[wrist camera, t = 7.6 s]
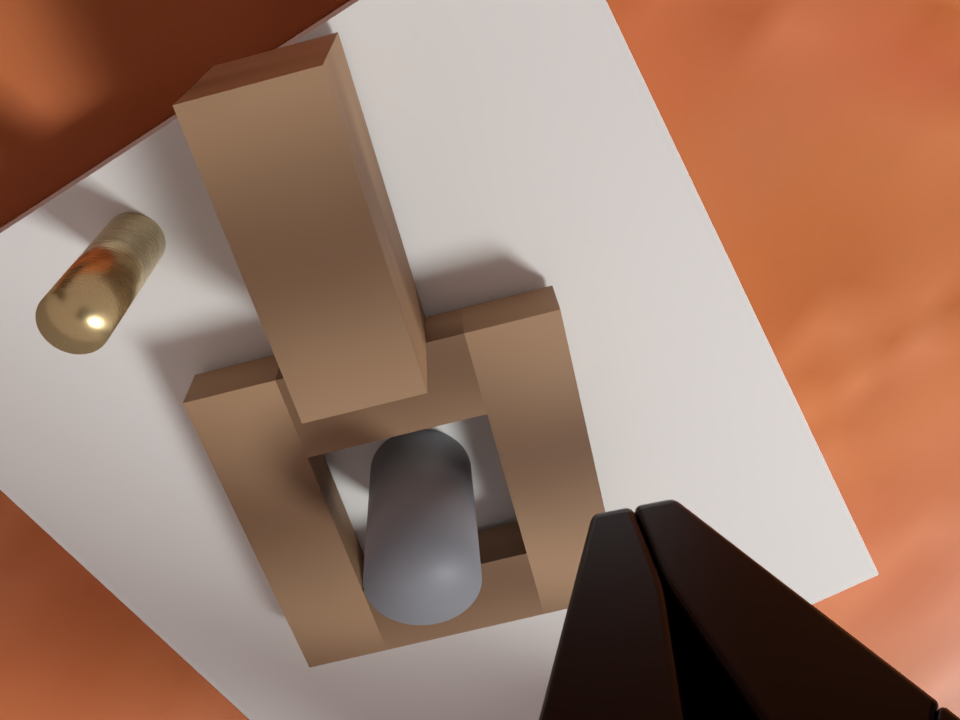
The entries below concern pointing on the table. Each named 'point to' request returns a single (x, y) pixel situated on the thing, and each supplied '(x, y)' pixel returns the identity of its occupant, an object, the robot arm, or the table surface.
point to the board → (441, 288)
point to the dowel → (101, 284)
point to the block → (365, 361)
